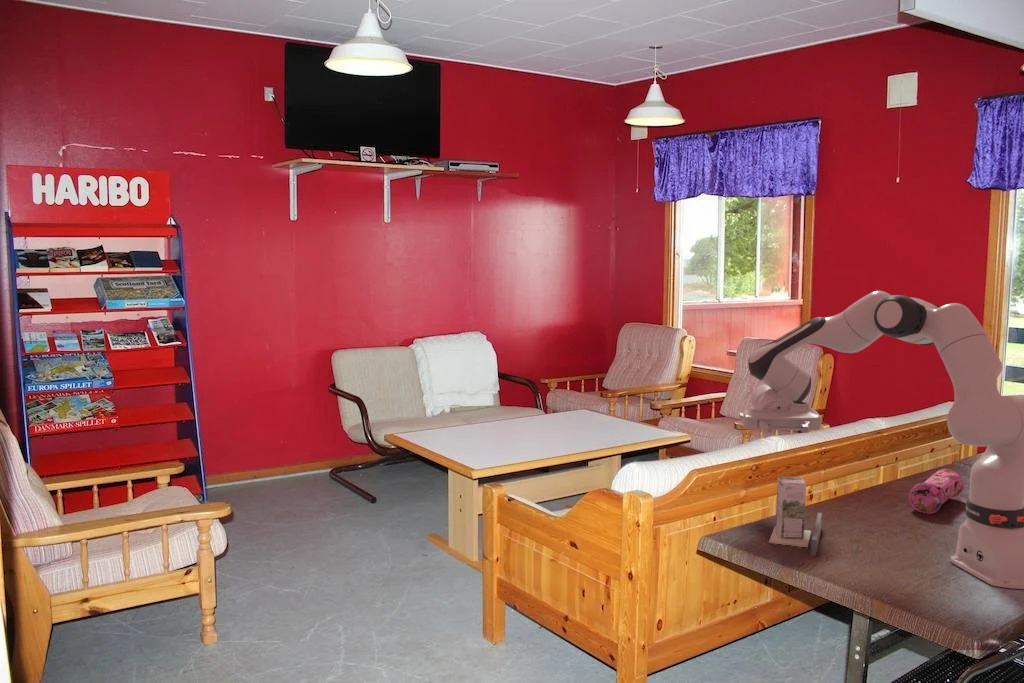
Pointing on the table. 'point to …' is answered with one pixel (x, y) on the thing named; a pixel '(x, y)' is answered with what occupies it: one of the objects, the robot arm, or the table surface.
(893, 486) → the table surface
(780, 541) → the pad
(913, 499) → the pencil case
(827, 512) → the table surface
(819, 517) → the low wall
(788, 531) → the syrup box
